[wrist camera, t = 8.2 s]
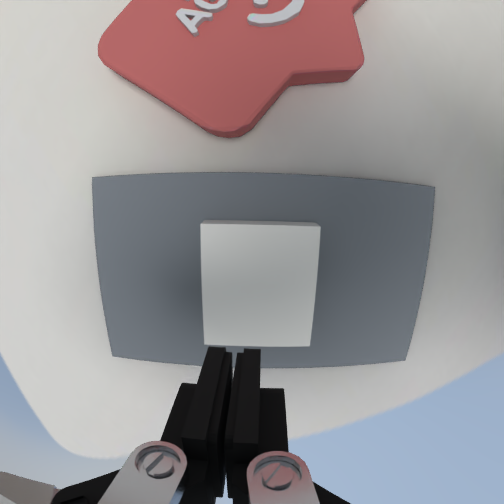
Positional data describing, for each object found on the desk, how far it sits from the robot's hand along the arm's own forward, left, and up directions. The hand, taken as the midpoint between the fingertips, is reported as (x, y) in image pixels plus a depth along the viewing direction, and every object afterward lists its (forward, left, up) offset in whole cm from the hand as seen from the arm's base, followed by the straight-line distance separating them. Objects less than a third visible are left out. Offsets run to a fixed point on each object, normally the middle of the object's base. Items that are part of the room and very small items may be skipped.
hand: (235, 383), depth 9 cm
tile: (-4, 0, -10) cm, 11 cm away
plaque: (-1, -18, -12) cm, 22 cm away
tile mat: (-1, 0, -12) cm, 12 cm away
